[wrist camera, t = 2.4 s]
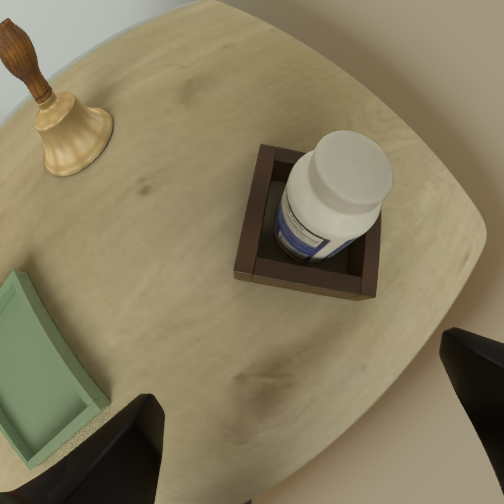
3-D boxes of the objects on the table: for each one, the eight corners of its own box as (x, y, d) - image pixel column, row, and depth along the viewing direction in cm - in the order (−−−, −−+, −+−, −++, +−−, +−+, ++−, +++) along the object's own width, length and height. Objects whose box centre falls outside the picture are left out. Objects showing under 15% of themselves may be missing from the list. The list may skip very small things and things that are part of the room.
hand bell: (51, 125, 23) (-17, 29, 7) (115, 99, 23) (64, -22, 8) (40, 188, 21) (-62, 93, 5) (111, 162, 22) (24, 22, 6)
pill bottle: (335, 196, 22) (389, 124, 12) (345, 262, 21) (417, 219, 11) (269, 197, 22) (291, 114, 12) (275, 266, 20) (307, 220, 11)
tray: (111, 402, 17) (100, 409, 15) (40, 464, 14) (30, 470, 13) (26, 272, 19) (13, 268, 17) (-28, 353, 16) (-39, 353, 14)
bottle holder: (357, 301, 20) (375, 297, 17) (233, 278, 20) (233, 271, 17) (366, 189, 22) (381, 173, 19) (257, 164, 22) (260, 143, 19)
